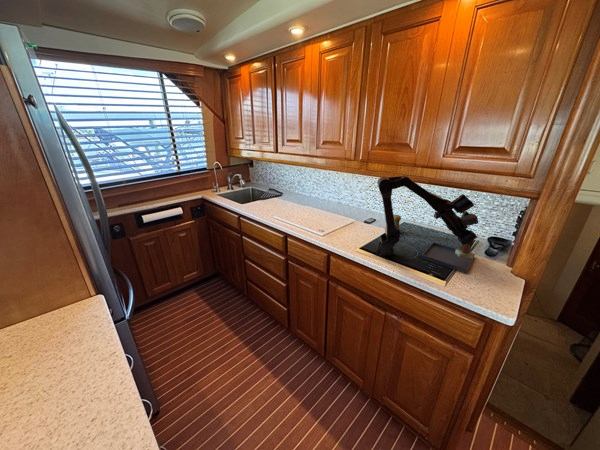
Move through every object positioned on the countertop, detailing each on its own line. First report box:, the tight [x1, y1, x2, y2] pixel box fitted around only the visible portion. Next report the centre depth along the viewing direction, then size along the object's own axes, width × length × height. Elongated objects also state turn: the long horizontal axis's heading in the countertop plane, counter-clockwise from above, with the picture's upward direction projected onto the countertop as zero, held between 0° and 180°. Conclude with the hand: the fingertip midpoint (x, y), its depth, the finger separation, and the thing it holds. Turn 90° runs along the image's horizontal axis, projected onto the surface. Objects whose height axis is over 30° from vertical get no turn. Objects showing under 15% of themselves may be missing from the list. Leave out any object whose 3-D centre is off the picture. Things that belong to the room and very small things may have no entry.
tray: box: [420, 241, 476, 274], centre depth 117 cm, size 19×19×2 cm
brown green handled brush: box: [455, 239, 475, 259], centre depth 110 cm, size 6×4×10 cm, turn 84°
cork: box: [393, 214, 402, 228], centre depth 143 cm, size 6×6×11 cm
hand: (470, 243), depth 109 cm, fingers closed on brown green handled brush, 3 cm apart
